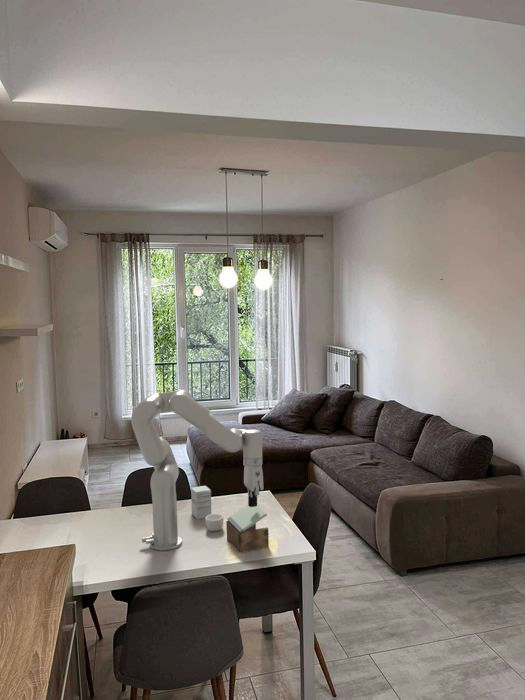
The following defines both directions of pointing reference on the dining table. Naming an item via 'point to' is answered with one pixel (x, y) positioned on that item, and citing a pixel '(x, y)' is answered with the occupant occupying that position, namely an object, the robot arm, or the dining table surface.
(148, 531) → the dining table surface
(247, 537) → the wooden u-shaped stand
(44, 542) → the dining table surface
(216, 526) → the teacup
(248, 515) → the cover
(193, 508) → the supplement box
